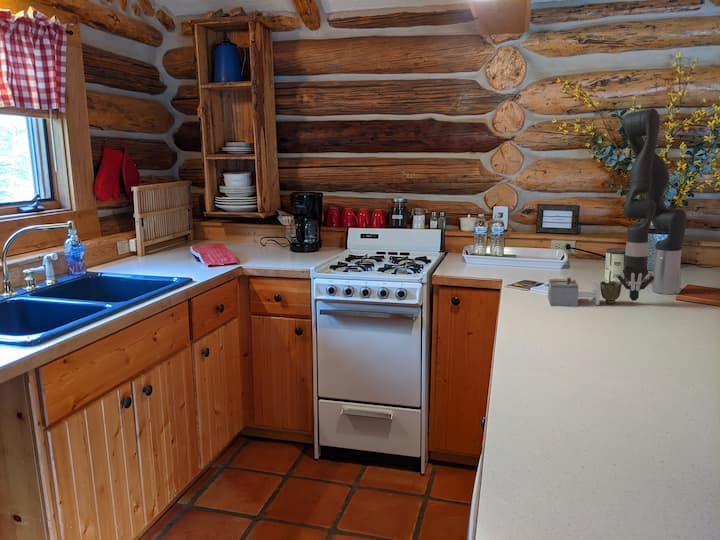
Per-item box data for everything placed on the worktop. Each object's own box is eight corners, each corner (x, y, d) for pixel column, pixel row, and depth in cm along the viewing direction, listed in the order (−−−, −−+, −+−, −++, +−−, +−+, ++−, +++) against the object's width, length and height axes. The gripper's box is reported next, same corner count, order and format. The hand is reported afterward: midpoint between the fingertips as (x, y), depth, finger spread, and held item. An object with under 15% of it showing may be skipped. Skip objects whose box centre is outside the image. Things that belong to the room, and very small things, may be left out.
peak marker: (569, 282, 219) (570, 277, 218) (570, 283, 217) (570, 278, 217) (567, 282, 219) (567, 277, 219) (567, 283, 217) (567, 278, 217)
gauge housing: (573, 298, 226) (574, 278, 225) (577, 306, 215) (578, 285, 213) (548, 297, 229) (548, 278, 227) (550, 305, 217) (551, 284, 216)
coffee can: (623, 279, 258) (625, 247, 255) (634, 284, 248) (636, 251, 245) (600, 279, 258) (602, 248, 255) (609, 284, 248) (611, 252, 245)
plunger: (595, 299, 223) (597, 277, 221) (599, 305, 215) (600, 282, 213) (568, 298, 225) (569, 277, 223) (570, 304, 217) (571, 281, 216)
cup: (617, 300, 221) (617, 280, 219) (624, 305, 214) (624, 284, 212) (596, 301, 222) (597, 280, 220) (603, 306, 215) (603, 285, 213)
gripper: (653, 252, 214) (650, 298, 218) (615, 252, 217) (612, 297, 221) (659, 256, 207) (655, 303, 210) (619, 255, 210) (616, 302, 213)
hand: (633, 300), depth 215 cm, fingers closed
